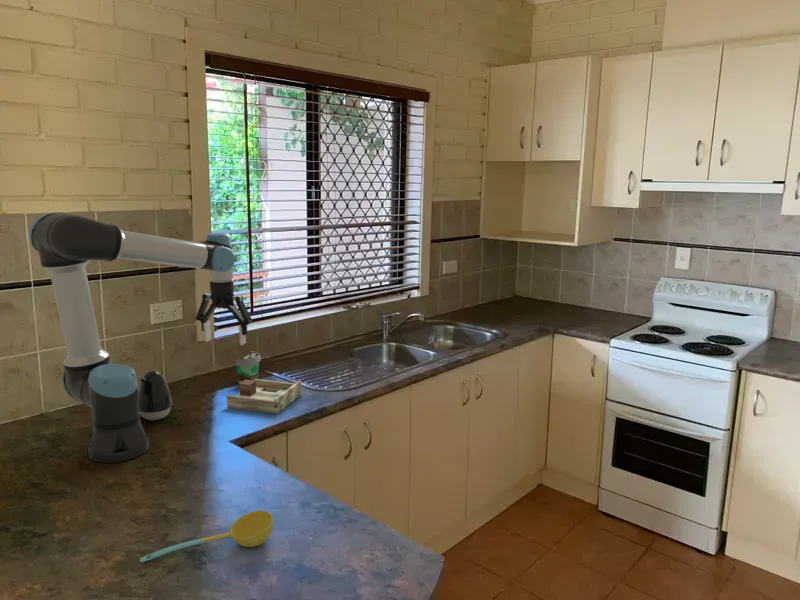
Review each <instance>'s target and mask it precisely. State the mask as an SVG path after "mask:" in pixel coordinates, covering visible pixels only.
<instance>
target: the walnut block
mask: <svg viewBox="0 0 800 600" xmlns="http://www.w3.org/2000/svg"><path fill="white" fill-rule="evenodd" d="M238 386H239V394H240V395H246V396H251V395H253V394H254V393H256V381H252V380H244V381H243V382H241V383H239V382H238Z"/></svg>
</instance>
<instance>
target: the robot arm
mask: <svg viewBox="0 0 800 600" xmlns="http://www.w3.org/2000/svg"><path fill="white" fill-rule="evenodd" d="M28 238H29V243H30V244H31V246H32V247H33V249H34V250H35V251H36V252H37V253H38V257H39V260H40V261H39V262H40V265H41V268H43V269H44V270H46V271H47V272H48V273H49V275H50V280H51V284H52V288H53V294H54V298H55V302H56V303H55V304H56V307H57V312H58V316H59V321H60V325H61V329H62V334H63V335H62V336H63V339H64V344H65V348H66V353H67V356H66V358H64V360H63V368H64V370H63V371H62V374H61V385H62V388H63V390H64V391H65V392H66V394H67V395H68V396H69V397H71V398H72V399H73V400H75V401H77V402H78V403H80V404H83V405H85V406H86V407H89V408H91V416H92V424H93V428H92V431H91V432H92V433H91V436H90V441H89V445H88V447H87V448H88V451H87V453H88V457H89V459H90V460H92V461H94V462H97V463H101V464H102V463H103V464H104V463H105V464H109V463H110V464H111V463H122V462H125V461H129V460H132V459H135V458H138V457H139V456H141V455H143V454H144V453H146V452H147V451H148V449H149V447H150V444H149V442H150V441H149V437H148V435H147V434H146V431H145V430H144V429H145V428H144V427H143V425H142V422H141V417H140V416H141V415H140V413H139V398H138V391H139V382H138V381H139V380H138V378H137V374H136V371H135V370H134V368H133V367H131V366H130V365H127V364H123V363H122V364H119V363H111V358H110V354H109V352H108V351H107V350H104V349H103V348H102V344H101V340H100V335H99V329H98V325H97V320H96V314H95V309H94V306H93V305H94V304H93V300H92V296H91V295H92V294H91V290H90V284H89V279H88V275H87V274H88V273H87V270H86V266H88V264H89V263H90V262H91V261H103V262H110V263H111V262H115V261H117V260H119V259H120V260H127V261H135V262H144V263H152V264H161V265H169V266H176V267H177V268H192V269H200V270H206V271H207V270H208V277H209V279H208V280H210V282H209V291H210V292H205V293H203V294H202V295H201V296H202V297H201V298H202V299H201V303H200V305H199V308H198V311H197V313H196V317H195V320H196V321H199V322H200V323H201V332H203V339H204V341H203V342H204V343H208V342H209V341H211V340H212V335H211V334H212V333H211V332H212V331H211V321H209V319H210V318H211V317H212V315H213V314H214V312H215V311H216V309H227V310H228V311H230V313H231V314H232V315H233V317H234V318H235V320H237V322H238V323H239V324H240V325H238V333H239V334H238V337H239V346H243V345H245V344H246V343H247V341H246V340H247V335H248V325H250V324H252V323H253V319H252V317H251V314H250V313H249V311H248V308H247V307H246V305H245V302H244V298H243V297H244V296H243V295H241V294H240V295H235V294H234V290H235V287H234V280H233V279H234V274H233V272H234V269H233V267H234V265H235V262H236V261H235V260H236V257H235V256H236V255H235V253H234V251H233V250H232V248H233V245H232V239H231V235H230V234H229V233H228V232H211V233H208V234H207V235H206V240H203V241H202V240H201V241H191V240H183V239H179V238H173V237H165V236H159V235H154V234H153V235H152V234H148V233H147V234H146V233H142V232H136V231H129V230H124V229H121V228H120V227H119V226H118V225H115V224H110V223H107V222H101V221H98V220H95V219H93V218H88V217H85V216H83V215H77V214H71V213H64V212H62V211H61V212H60V211H59V212H48V213H45V214H41V215H40V216H38V217H36V218H35V220H34V221H33V222H32V223H31V225H30V227H29V231H28ZM210 300H211V301H212V302H211V304H210V305H209V302H210ZM208 305H209V307H208ZM207 308H208V309H207Z"/></svg>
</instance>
